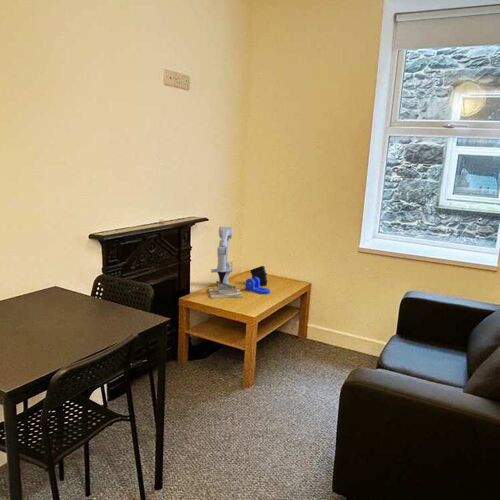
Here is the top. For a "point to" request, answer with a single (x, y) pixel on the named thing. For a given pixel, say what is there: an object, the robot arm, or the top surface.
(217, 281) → the retention strap
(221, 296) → the board
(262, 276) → the black rectangular slab
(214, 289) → the lugs
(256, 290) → the bracket
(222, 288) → the heat sink
